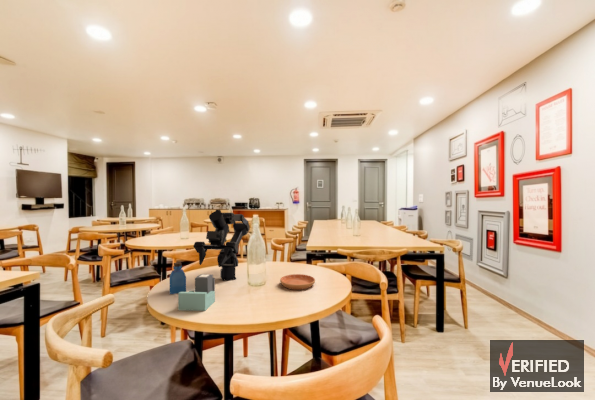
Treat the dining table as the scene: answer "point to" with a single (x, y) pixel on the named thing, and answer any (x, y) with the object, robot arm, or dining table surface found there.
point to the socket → (195, 300)
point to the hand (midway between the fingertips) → (210, 264)
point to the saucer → (297, 281)
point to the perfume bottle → (177, 279)
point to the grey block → (204, 283)
